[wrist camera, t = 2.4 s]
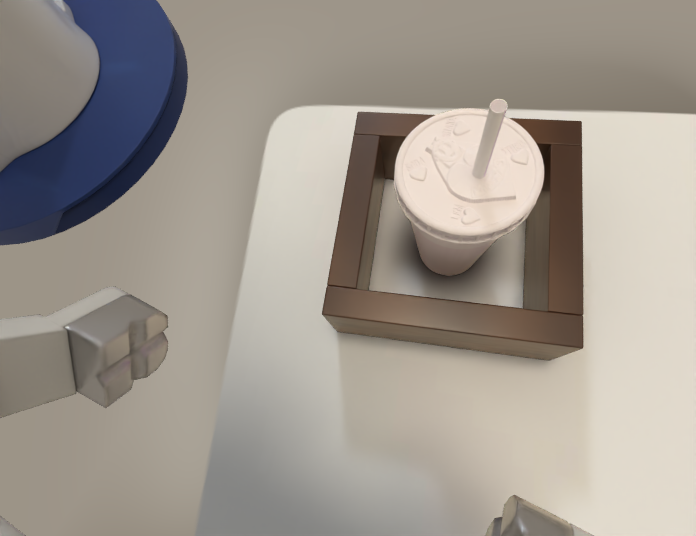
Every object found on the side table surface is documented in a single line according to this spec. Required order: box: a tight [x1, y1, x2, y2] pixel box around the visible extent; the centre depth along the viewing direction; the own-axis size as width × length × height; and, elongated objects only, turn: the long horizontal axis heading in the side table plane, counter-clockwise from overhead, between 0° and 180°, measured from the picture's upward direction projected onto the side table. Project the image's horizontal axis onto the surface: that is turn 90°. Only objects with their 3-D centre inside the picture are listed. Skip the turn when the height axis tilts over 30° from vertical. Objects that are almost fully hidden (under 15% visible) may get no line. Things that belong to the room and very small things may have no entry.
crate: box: [322, 112, 583, 360], centre depth 25 cm, size 13×13×5 cm
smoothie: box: [394, 99, 544, 276], centre depth 21 cm, size 6×6×14 cm
